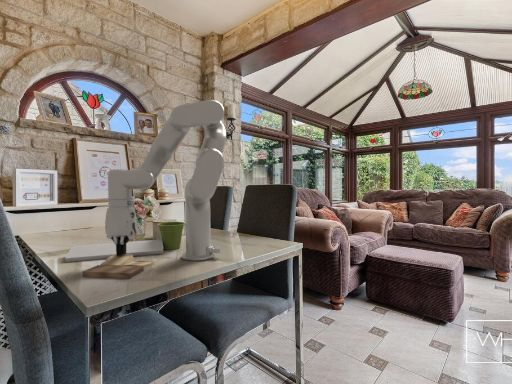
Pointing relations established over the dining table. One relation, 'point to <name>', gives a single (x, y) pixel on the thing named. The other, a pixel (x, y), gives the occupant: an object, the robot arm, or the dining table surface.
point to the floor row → (112, 271)
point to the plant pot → (171, 234)
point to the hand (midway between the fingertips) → (121, 254)
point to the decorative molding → (113, 250)
